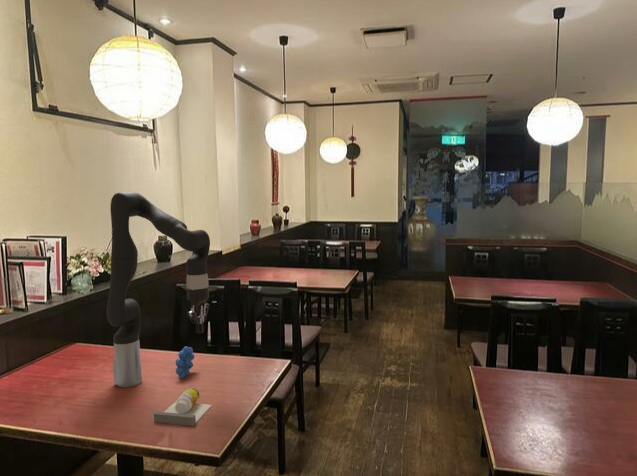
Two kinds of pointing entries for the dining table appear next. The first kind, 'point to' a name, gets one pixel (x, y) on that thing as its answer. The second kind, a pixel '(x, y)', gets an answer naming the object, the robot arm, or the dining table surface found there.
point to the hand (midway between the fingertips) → (199, 332)
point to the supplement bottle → (187, 400)
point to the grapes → (184, 361)
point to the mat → (182, 415)
